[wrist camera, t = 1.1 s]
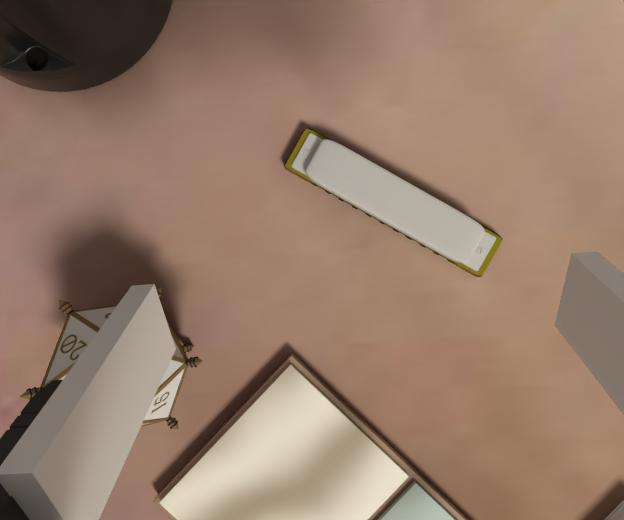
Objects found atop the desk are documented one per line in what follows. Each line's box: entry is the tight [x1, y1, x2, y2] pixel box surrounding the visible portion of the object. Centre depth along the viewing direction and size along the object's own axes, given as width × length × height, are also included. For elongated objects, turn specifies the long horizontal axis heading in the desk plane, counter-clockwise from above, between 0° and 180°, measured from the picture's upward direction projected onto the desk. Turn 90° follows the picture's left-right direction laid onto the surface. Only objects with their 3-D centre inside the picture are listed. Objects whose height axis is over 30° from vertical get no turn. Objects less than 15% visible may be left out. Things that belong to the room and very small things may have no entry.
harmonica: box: [285, 127, 503, 277], centre depth 27 cm, size 15×3×2 cm, turn 61°
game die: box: [20, 287, 202, 429], centre depth 24 cm, size 9×8×10 cm
